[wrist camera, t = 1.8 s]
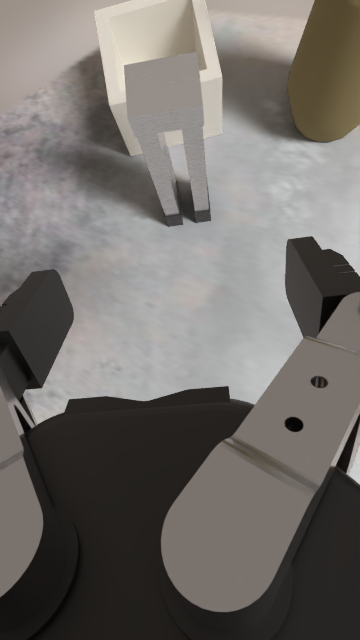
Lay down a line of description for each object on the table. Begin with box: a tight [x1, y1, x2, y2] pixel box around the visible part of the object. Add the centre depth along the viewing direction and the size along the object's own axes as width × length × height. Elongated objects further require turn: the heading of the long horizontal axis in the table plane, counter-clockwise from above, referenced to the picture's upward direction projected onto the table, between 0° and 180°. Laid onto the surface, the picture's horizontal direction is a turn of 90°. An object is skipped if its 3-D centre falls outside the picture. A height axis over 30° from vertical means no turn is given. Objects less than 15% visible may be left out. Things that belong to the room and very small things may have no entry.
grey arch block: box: [124, 52, 211, 227], centre depth 25 cm, size 4×3×14 cm
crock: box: [94, 0, 222, 156], centre depth 30 cm, size 9×9×6 cm
